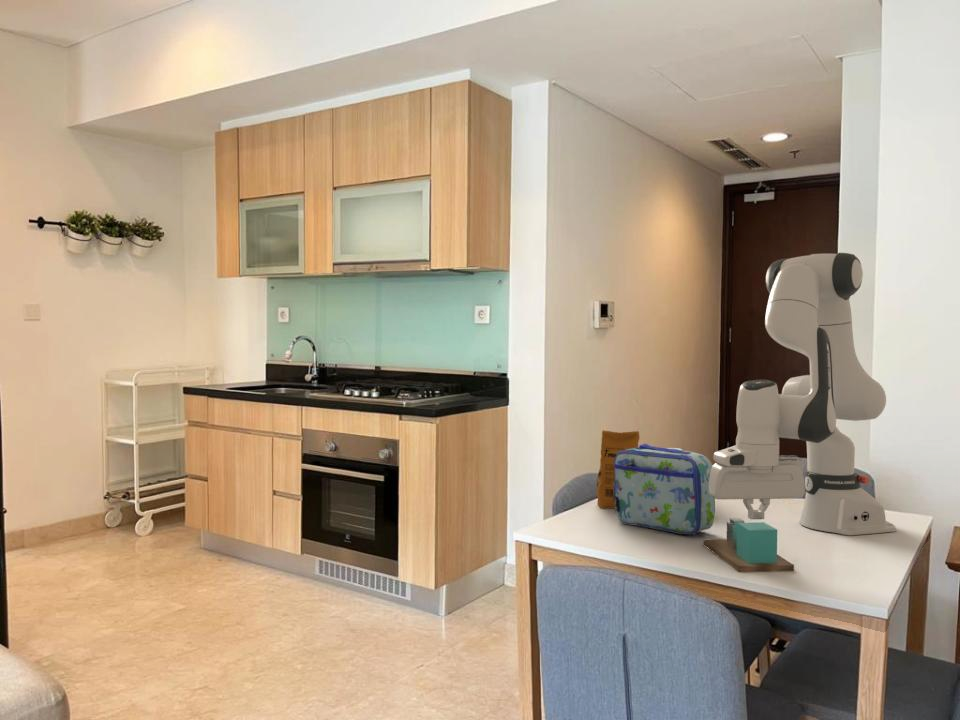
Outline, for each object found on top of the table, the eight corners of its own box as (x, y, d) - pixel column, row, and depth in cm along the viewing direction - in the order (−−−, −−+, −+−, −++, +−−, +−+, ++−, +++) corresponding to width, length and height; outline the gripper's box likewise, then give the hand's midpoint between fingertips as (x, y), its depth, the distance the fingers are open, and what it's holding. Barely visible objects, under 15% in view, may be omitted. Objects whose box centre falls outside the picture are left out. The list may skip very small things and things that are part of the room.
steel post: (740, 543, 173) (741, 517, 172) (747, 547, 169) (747, 521, 169) (726, 543, 172) (726, 517, 172) (732, 547, 169) (732, 521, 169)
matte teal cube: (763, 554, 164) (764, 522, 164) (776, 562, 158) (777, 529, 158) (736, 554, 164) (736, 522, 163) (748, 563, 158) (749, 530, 157)
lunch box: (607, 521, 197) (608, 443, 196) (631, 515, 204) (631, 439, 203) (695, 542, 178) (696, 455, 177) (718, 533, 185) (719, 450, 184)
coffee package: (597, 501, 221) (598, 427, 220) (640, 503, 218) (640, 429, 217) (595, 508, 211) (595, 432, 210) (639, 511, 208) (640, 433, 207)
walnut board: (752, 543, 176) (752, 538, 176) (794, 570, 156) (794, 565, 156) (703, 544, 175) (703, 539, 175) (738, 572, 156) (738, 566, 155)
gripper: (796, 452, 164) (795, 514, 164) (706, 453, 162) (705, 515, 163) (811, 457, 158) (809, 521, 158) (717, 458, 156) (716, 523, 157)
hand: (756, 518), depth 160 cm, fingers closed
